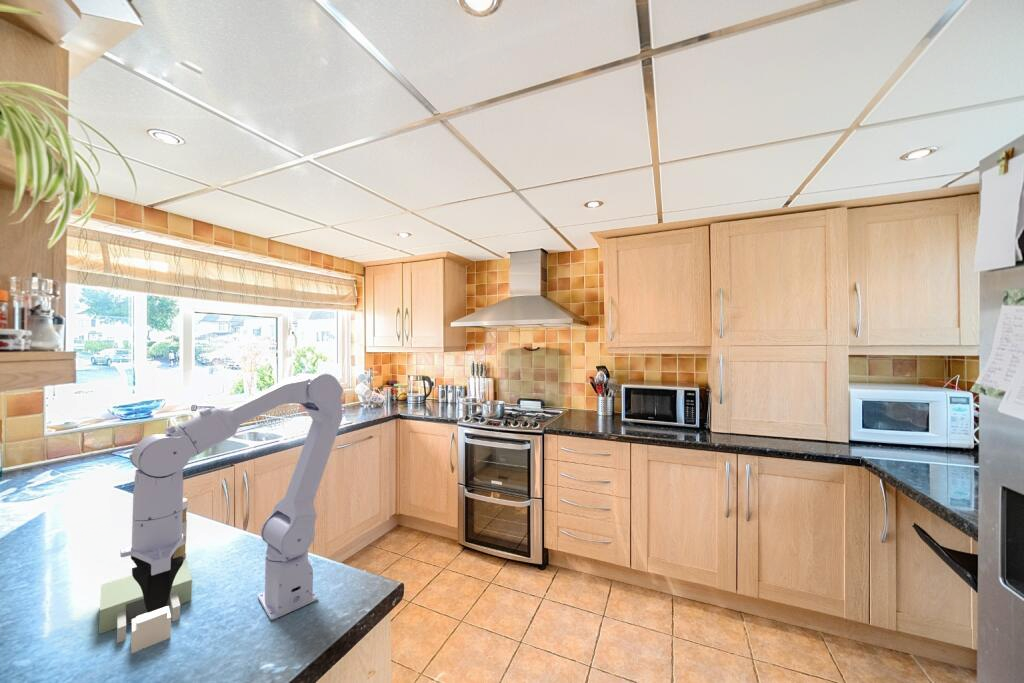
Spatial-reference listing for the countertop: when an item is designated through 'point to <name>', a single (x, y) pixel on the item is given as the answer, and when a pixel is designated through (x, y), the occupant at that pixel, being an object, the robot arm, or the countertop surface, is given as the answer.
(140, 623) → the cream small block
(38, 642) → the countertop surface
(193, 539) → the countertop surface
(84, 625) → the countertop surface
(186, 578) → the deck
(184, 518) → the sprinkles bottle
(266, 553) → the robot arm
